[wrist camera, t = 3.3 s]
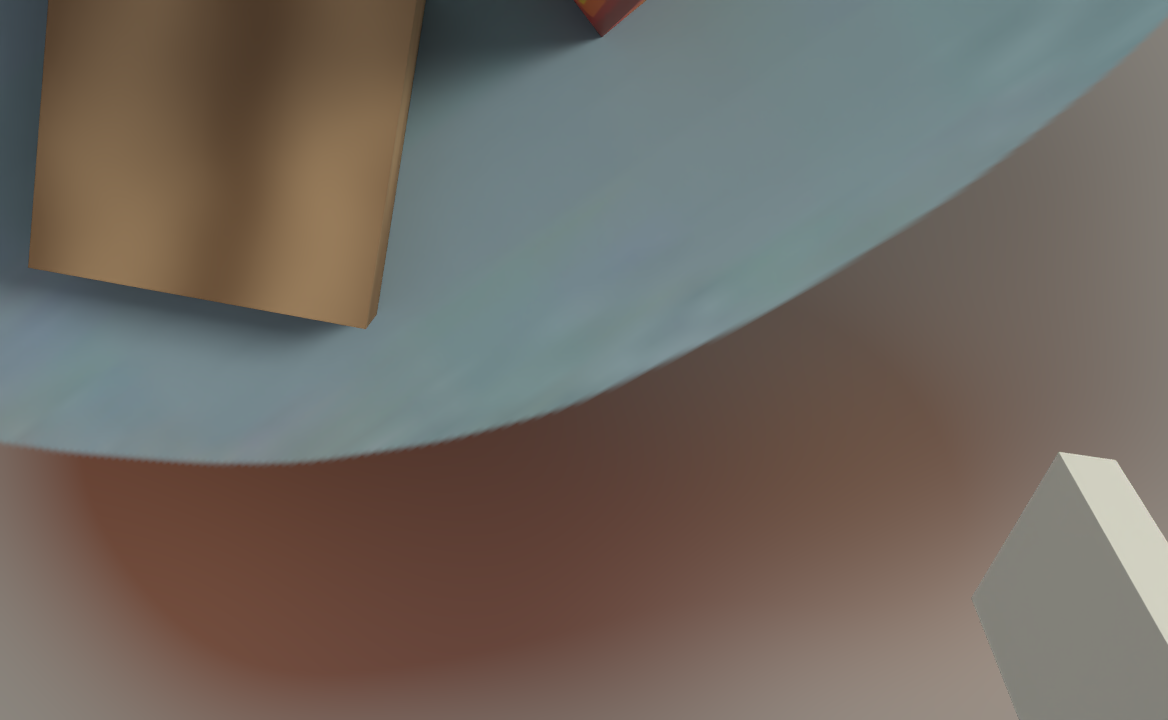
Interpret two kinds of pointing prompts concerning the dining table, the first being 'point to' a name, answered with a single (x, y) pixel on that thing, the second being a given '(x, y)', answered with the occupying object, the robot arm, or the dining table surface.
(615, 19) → the baking soda box
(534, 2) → the dining table surface
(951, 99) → the dining table surface
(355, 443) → the dining table surface
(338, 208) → the plinth
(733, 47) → the dining table surface
